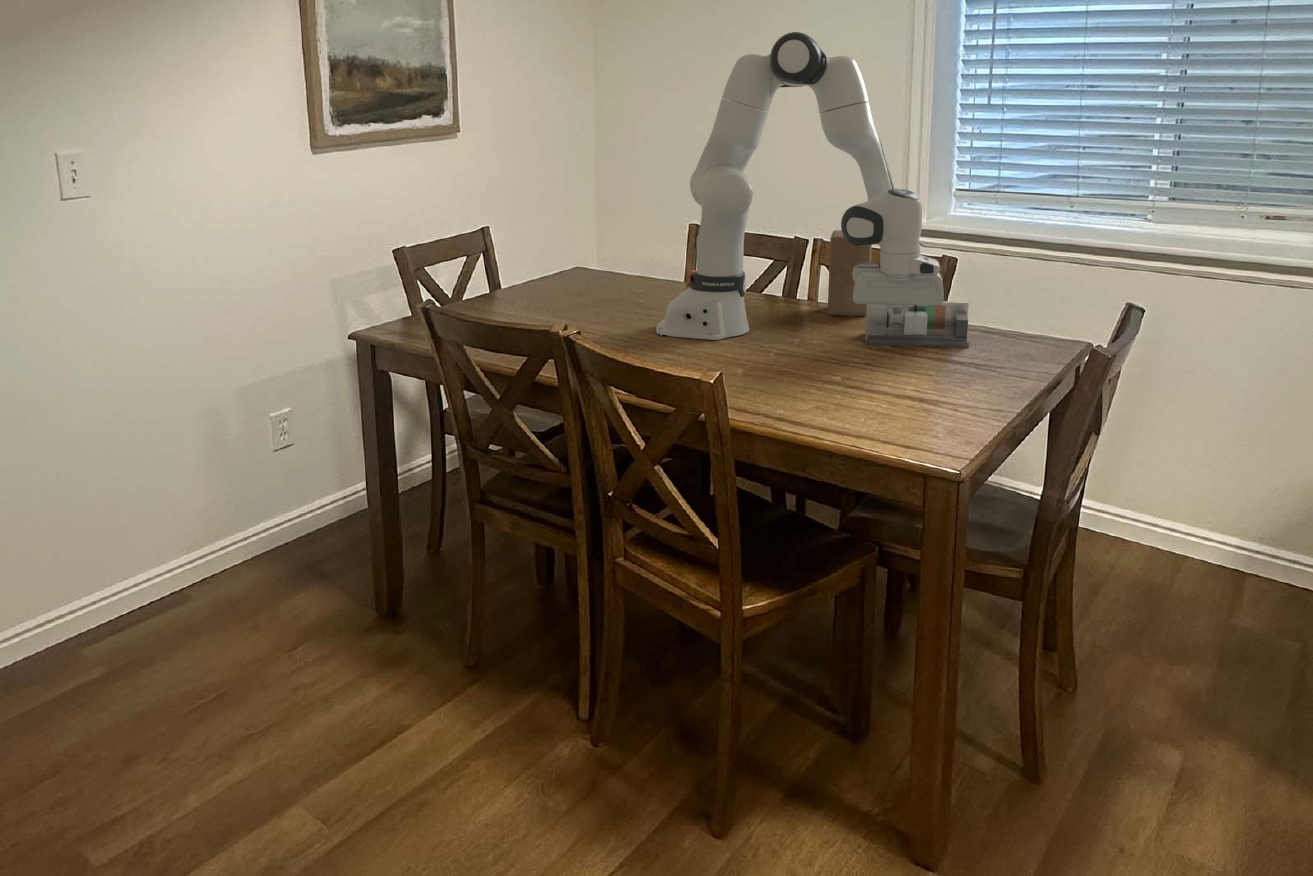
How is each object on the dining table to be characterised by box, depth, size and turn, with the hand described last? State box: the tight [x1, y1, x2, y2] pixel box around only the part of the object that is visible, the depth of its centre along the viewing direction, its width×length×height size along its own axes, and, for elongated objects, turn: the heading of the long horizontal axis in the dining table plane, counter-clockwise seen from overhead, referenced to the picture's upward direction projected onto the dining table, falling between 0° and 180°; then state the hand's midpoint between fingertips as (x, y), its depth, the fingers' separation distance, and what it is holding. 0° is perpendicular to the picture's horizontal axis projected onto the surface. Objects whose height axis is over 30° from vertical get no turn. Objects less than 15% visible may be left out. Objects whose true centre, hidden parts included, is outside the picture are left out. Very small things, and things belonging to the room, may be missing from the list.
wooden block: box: [827, 229, 873, 317], centre depth 282 cm, size 10×10×20 cm
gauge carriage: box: [903, 305, 928, 336], centre depth 257 cm, size 5×7×6 cm
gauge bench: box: [864, 300, 970, 349], centre depth 258 cm, size 23×10×8 cm, turn 79°
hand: (896, 323), depth 258 cm, fingers closed
